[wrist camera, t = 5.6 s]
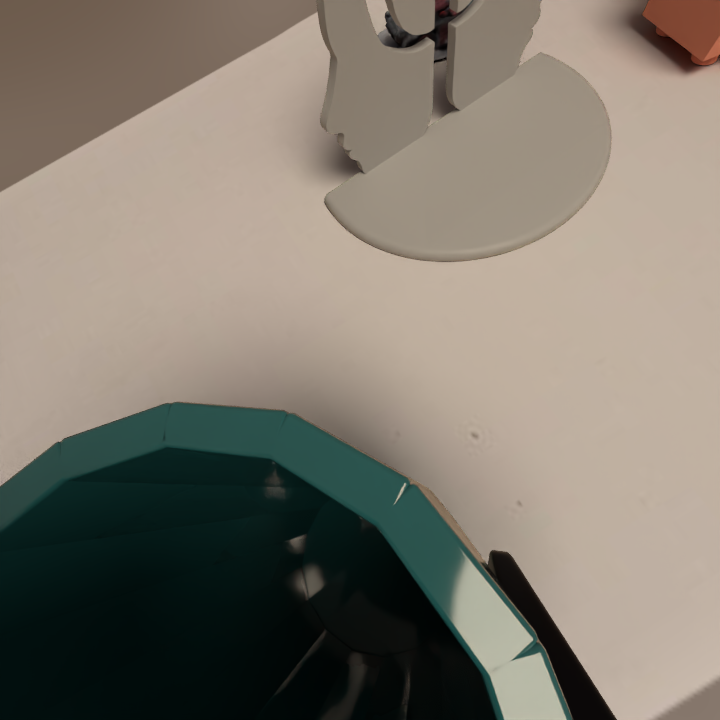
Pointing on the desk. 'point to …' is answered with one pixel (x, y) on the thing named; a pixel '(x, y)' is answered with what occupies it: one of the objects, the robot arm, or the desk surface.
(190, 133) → the desk surface
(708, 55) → the pink cube teapot
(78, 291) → the desk surface
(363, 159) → the ornament
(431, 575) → the tumbler
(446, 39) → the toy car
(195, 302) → the desk surface
